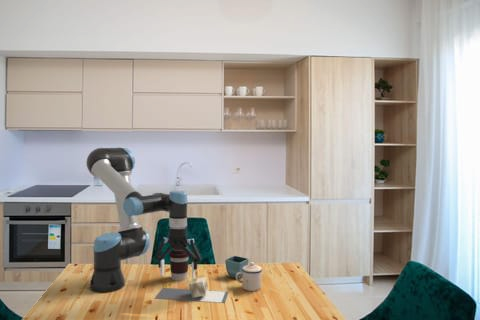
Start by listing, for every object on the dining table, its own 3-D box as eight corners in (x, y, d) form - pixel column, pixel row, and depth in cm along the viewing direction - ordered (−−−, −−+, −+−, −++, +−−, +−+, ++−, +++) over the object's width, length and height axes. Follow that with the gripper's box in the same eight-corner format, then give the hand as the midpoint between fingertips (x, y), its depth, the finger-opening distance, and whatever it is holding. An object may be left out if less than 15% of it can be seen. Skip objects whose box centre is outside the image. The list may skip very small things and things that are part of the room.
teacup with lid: (260, 283, 183) (260, 259, 182) (263, 291, 174) (263, 265, 173) (234, 284, 182) (235, 259, 181) (236, 291, 173) (236, 266, 172)
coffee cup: (187, 283, 181) (188, 252, 180) (166, 283, 181) (166, 251, 181) (190, 276, 191) (191, 246, 190) (170, 275, 191) (171, 245, 191)
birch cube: (188, 284, 163) (202, 281, 162) (192, 279, 169) (205, 276, 168) (192, 297, 163) (205, 295, 162) (195, 292, 169) (208, 289, 168)
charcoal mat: (153, 300, 162) (153, 298, 162) (162, 289, 174) (162, 287, 174) (224, 304, 159) (224, 303, 159) (228, 293, 171) (228, 291, 170)
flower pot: (249, 276, 193) (249, 258, 192) (239, 281, 185) (239, 263, 185) (234, 272, 197) (234, 255, 197) (224, 277, 190) (224, 259, 189)
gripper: (146, 227, 163) (146, 277, 164) (205, 230, 160) (204, 280, 161) (152, 224, 170) (152, 271, 172) (208, 226, 168) (207, 274, 169)
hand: (177, 276), depth 166 cm, fingers open, 13 cm apart
